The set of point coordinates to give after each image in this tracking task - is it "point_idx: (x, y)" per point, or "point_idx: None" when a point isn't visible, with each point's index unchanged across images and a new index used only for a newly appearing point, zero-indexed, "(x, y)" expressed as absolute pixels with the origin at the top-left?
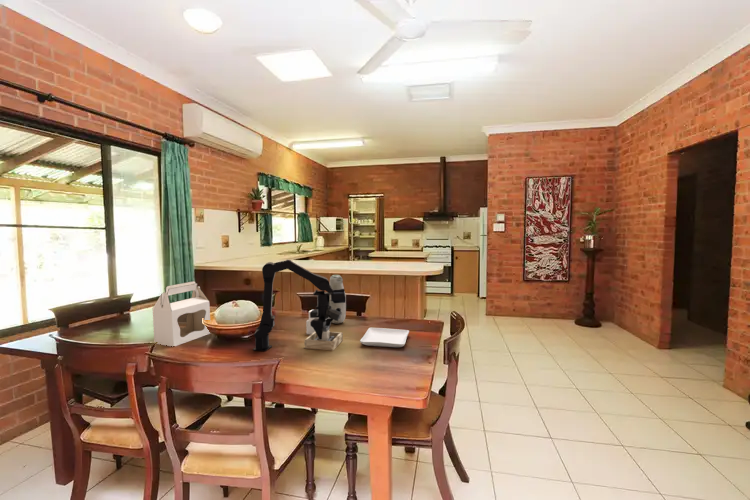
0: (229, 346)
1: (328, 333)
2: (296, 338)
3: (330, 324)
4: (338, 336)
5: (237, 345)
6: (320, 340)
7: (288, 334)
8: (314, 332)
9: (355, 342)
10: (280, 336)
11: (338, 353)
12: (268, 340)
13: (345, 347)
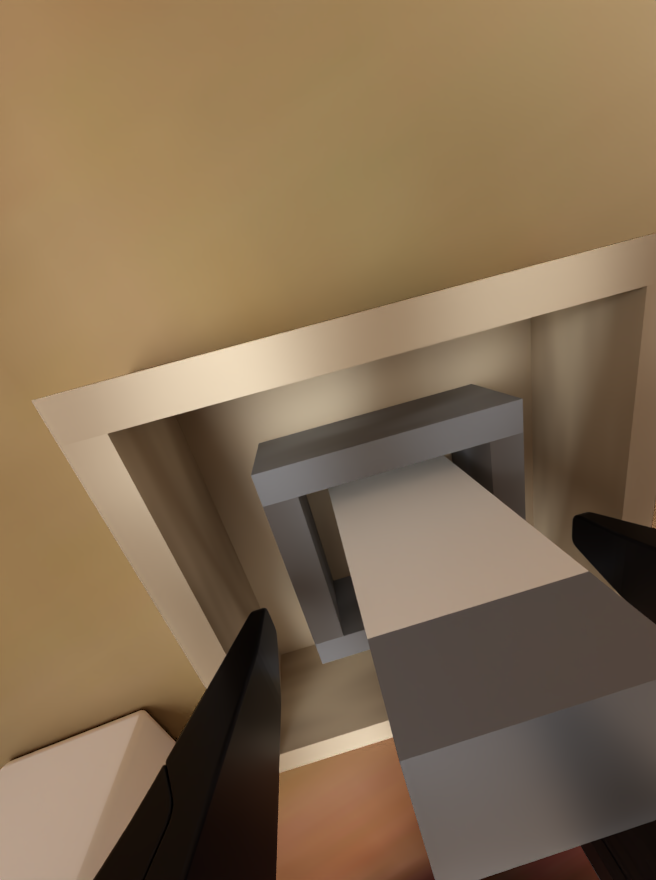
0: (590, 867)
1: (404, 550)
2: (347, 764)
3: (129, 830)
4: (339, 322)
5: (571, 860)
6: (630, 494)
7: (294, 845)
8: (328, 749)
9: (66, 59)
10: (358, 845)
11: (647, 109)
12: (654, 833)
13: (389, 133)
